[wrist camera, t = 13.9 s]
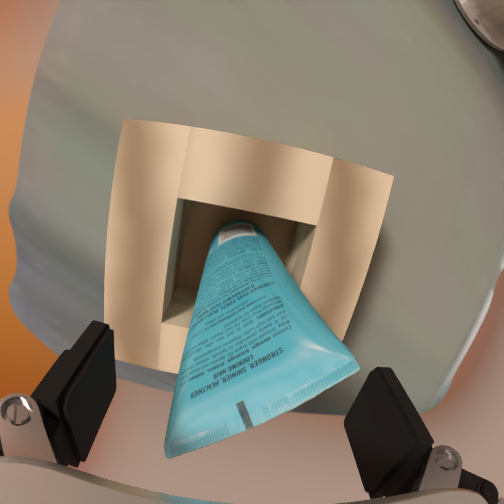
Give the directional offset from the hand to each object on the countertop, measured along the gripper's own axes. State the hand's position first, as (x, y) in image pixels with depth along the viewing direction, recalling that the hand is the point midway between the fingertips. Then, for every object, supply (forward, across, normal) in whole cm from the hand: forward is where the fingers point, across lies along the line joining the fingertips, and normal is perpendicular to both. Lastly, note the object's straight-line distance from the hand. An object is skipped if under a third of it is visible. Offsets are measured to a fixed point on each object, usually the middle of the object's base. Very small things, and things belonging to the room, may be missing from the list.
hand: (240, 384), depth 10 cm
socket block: (+19, 0, +1) cm, 19 cm away
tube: (+18, 0, 0) cm, 18 cm away
